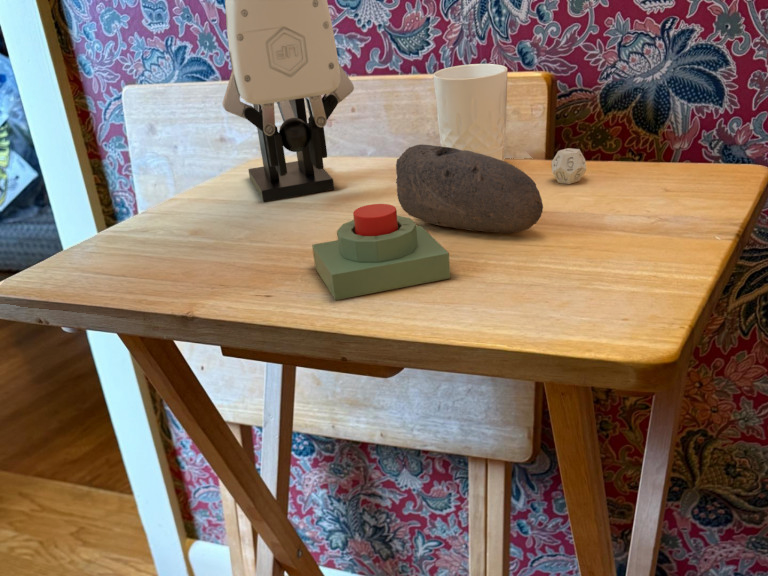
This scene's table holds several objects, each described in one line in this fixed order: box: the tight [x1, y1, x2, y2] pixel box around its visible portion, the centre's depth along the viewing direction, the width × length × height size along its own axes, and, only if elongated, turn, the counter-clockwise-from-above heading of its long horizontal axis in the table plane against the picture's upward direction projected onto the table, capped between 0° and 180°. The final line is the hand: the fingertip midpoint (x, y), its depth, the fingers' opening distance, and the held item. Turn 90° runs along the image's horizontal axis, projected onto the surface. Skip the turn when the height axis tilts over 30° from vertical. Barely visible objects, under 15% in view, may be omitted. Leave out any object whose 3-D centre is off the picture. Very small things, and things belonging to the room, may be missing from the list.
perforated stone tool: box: [395, 144, 544, 234], centre depth 82 cm, size 15×5×7 cm, turn 51°
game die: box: [550, 147, 587, 185], centre depth 93 cm, size 4×4×3 cm
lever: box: [276, 100, 310, 153], centre depth 93 cm, size 12×3×3 cm, turn 16°
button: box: [352, 203, 398, 236], centre depth 74 cm, size 4×4×2 cm
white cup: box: [432, 63, 509, 162], centre depth 97 cm, size 8×8×10 cm
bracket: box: [247, 98, 335, 203], centre depth 98 cm, size 10×8×13 cm
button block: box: [311, 214, 451, 301], centre depth 76 cm, size 10×8×4 cm
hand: (299, 167), depth 93 cm, fingers closed on lever, 3 cm apart
